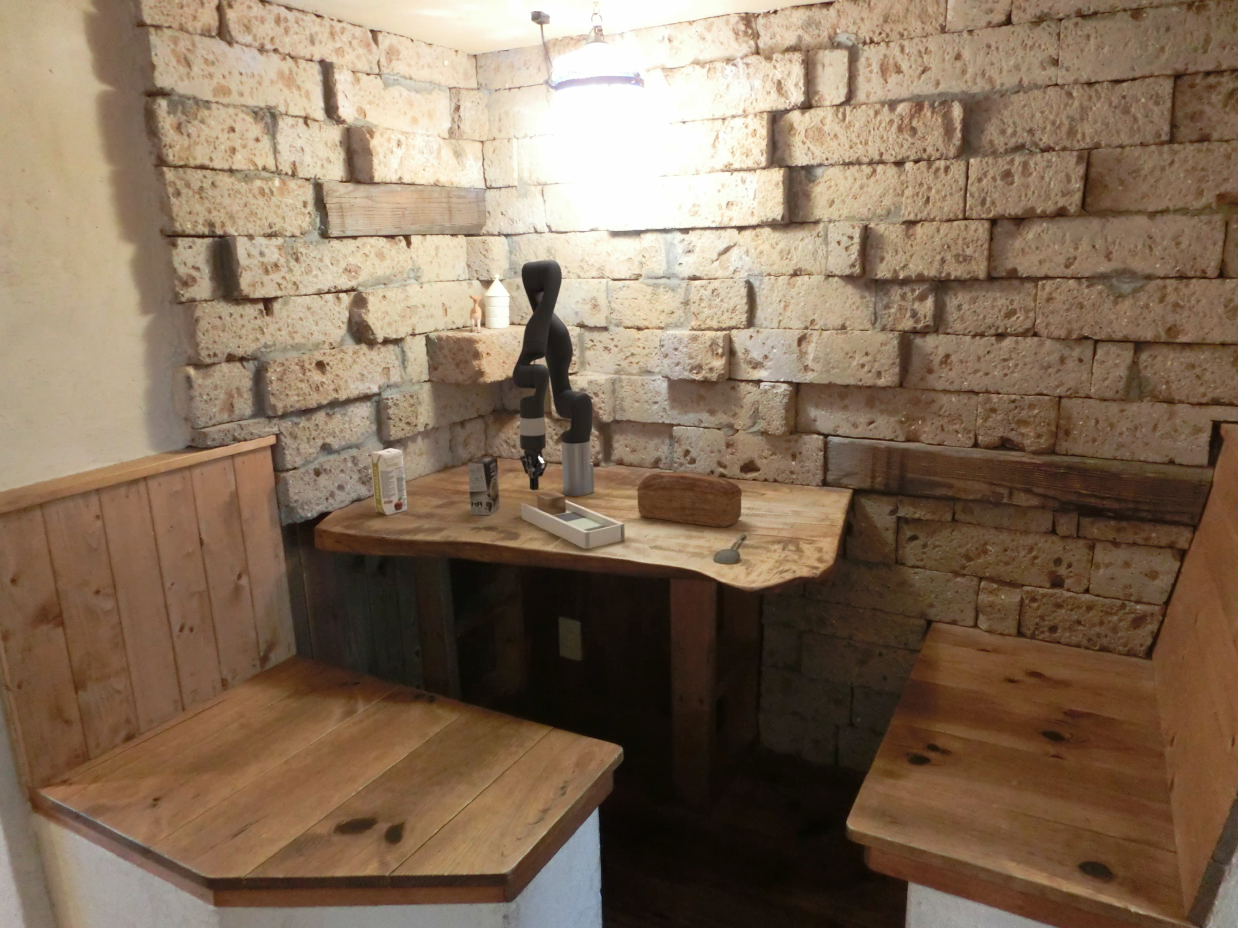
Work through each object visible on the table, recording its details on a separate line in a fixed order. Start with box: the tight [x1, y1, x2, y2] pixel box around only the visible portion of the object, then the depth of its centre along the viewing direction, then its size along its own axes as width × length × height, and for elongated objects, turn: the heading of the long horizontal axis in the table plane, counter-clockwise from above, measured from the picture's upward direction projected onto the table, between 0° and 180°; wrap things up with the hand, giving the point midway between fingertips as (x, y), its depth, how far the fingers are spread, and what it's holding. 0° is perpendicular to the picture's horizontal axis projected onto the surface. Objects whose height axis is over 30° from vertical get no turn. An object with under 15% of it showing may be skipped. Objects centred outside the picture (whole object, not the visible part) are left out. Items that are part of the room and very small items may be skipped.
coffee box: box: [467, 456, 501, 516], centre depth 257 cm, size 9×6×16 cm
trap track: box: [520, 499, 626, 550], centre depth 239 cm, size 12×35×4 cm, turn 35°
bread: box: [636, 471, 743, 528], centre depth 245 cm, size 12×31×14 cm, turn 63°
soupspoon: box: [712, 533, 747, 566], centre depth 219 cm, size 22×3×7 cm
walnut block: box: [536, 491, 566, 515], centre depth 247 cm, size 6×6×5 cm
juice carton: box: [370, 447, 408, 516], centre depth 258 cm, size 8×9×19 cm
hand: (534, 489), depth 253 cm, fingers closed
